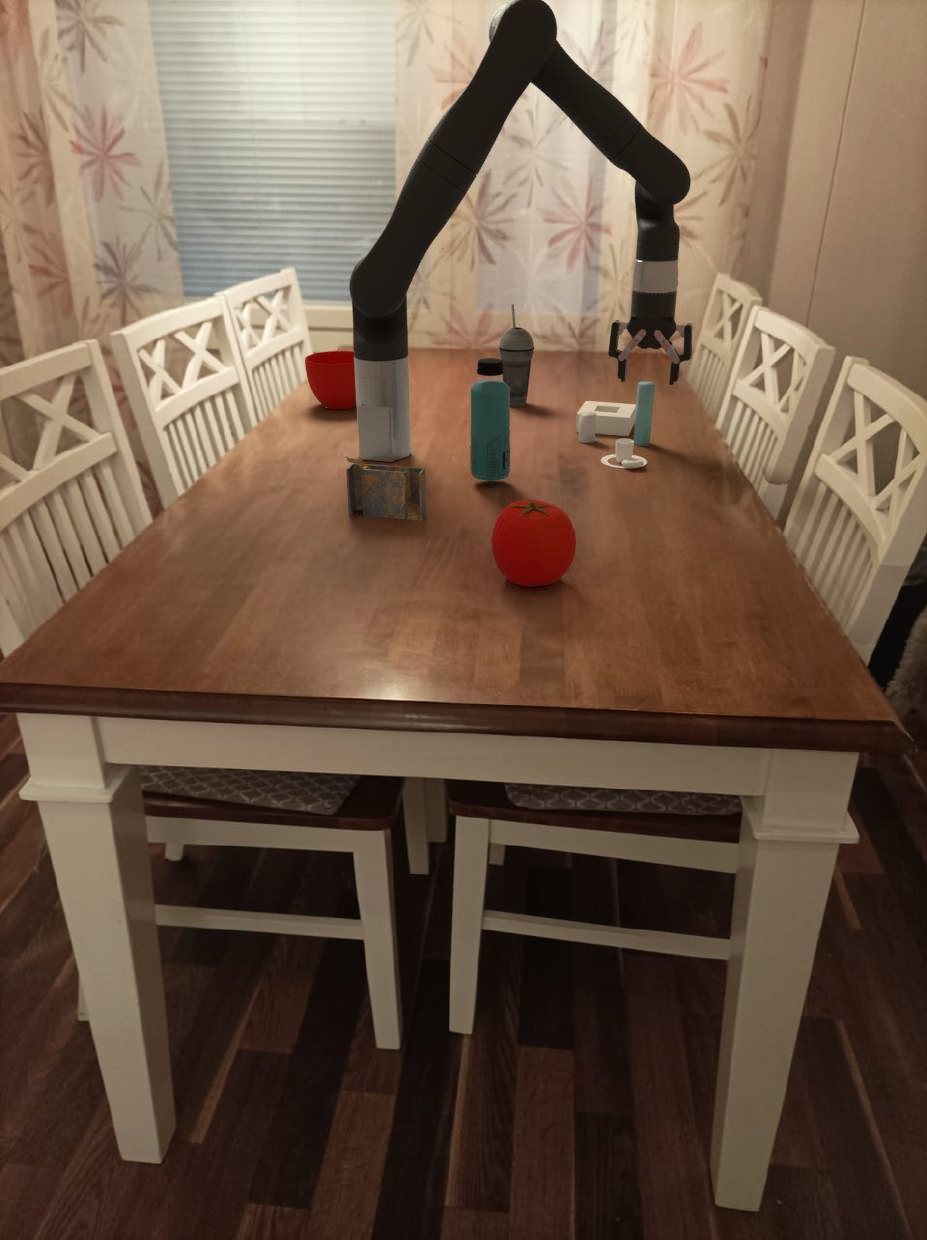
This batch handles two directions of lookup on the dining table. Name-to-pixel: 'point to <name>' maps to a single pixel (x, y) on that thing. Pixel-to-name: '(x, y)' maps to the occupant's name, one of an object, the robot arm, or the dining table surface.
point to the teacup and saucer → (625, 455)
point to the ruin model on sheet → (386, 490)
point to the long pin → (644, 413)
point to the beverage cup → (516, 362)
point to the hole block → (610, 417)
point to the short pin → (587, 427)
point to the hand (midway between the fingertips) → (647, 382)
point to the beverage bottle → (490, 423)
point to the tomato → (533, 543)
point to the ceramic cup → (332, 378)
